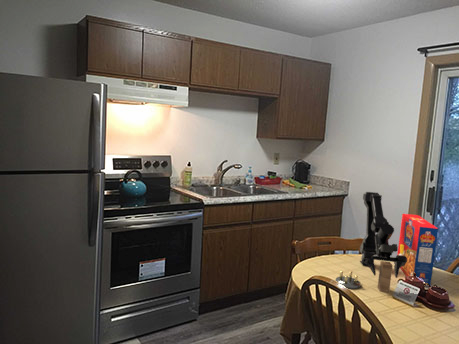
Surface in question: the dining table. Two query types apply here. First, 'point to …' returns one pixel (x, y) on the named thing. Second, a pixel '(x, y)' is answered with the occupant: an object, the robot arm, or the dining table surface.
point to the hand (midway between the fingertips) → (385, 276)
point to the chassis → (348, 281)
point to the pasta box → (417, 246)
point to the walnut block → (384, 276)
